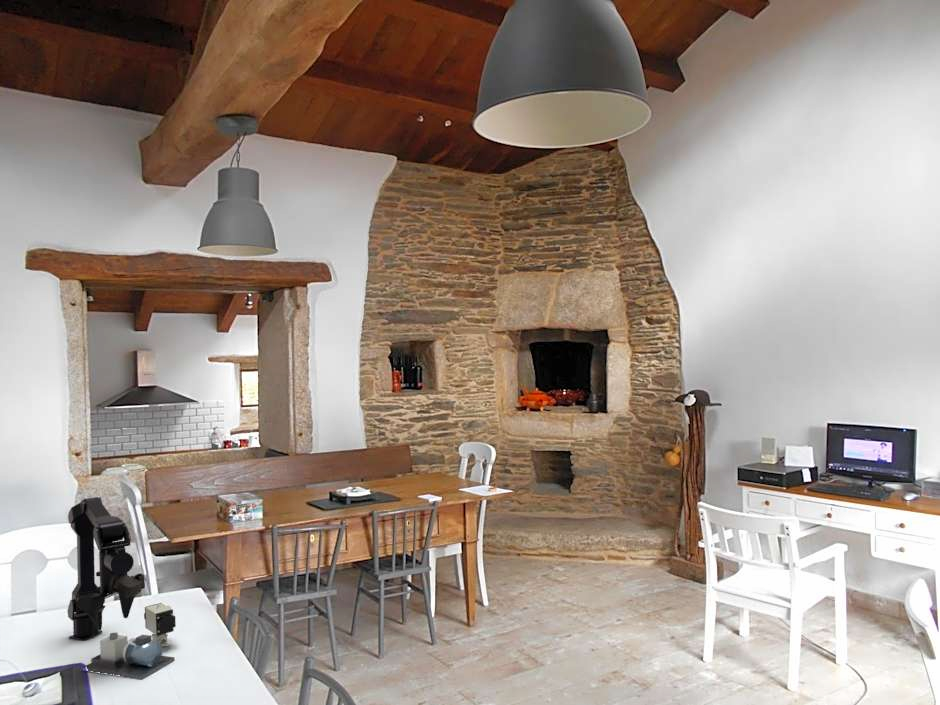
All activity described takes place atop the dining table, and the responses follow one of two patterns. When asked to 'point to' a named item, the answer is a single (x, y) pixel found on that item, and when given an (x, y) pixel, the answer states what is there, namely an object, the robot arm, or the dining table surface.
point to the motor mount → (134, 659)
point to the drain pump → (112, 647)
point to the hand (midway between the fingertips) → (112, 623)
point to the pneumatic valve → (159, 622)
